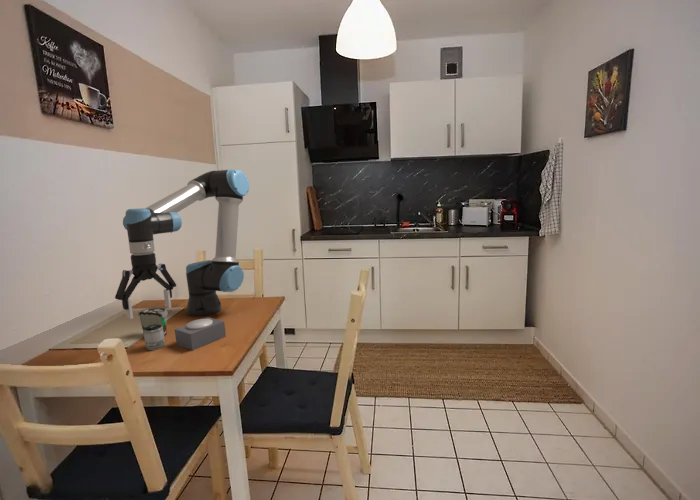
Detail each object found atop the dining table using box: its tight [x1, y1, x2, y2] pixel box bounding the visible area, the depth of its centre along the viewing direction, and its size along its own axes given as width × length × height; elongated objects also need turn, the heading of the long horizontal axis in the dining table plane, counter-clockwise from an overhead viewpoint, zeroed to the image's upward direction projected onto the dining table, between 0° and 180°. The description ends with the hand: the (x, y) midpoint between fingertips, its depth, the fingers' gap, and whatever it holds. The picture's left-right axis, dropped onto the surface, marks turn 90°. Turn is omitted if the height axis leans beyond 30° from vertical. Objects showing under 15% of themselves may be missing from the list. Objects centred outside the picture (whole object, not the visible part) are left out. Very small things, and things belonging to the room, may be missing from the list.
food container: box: [137, 306, 169, 337], centre depth 149 cm, size 12×6×10 cm, turn 71°
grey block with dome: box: [174, 316, 227, 351], centre depth 140 cm, size 11×14×7 cm
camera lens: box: [142, 324, 166, 351], centre depth 136 cm, size 6×6×8 cm
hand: (150, 312), depth 134 cm, fingers open, 13 cm apart
